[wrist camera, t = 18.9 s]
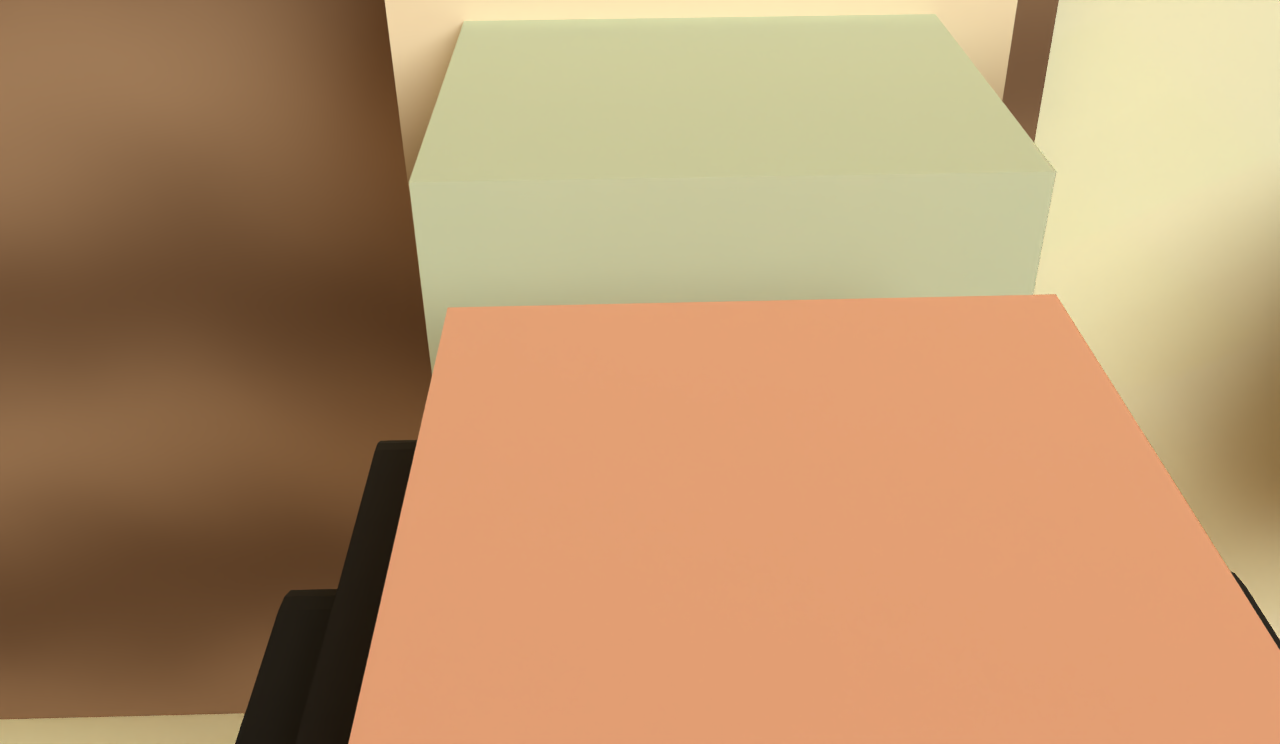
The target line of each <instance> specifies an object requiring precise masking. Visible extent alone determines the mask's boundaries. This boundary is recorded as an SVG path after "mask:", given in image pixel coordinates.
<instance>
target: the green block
mask: <svg viewBox="0 0 1280 744" xmlns="http://www.w3.org/2000/svg"><path fill="white" fill-rule="evenodd" d="M1055 176H1056V171H1055V169H1054V168H1053V167H1052V165H1051V164H1050V163H1049V161H1048V160H1047V159H1046V158H1045V156H1044V155H1043V154H1042V152H1041V151H1040V150H1039V148H1038V147H1037V146H1036V145H1035V143H1034V142H1033V141H1032V139H1031V138H1030V137H1029V135H1028V134H1027V133H1026V132H1025V130H1024V129H1023V128H1022V126H1021V125H1020V124H1019V122H1018V121H1017V120H1016V118H1015V117H1014V116H1013V115H1012V113H1011V112H1010V111H1009V109H1008V108H1007V107H1006V105H1005V104H1004V103H1003V102H1002V100H1001V99H1000V98H999V96H998V95H997V94H996V92H995V91H994V90H993V89H992V87H991V86H990V85H989V83H988V82H987V81H986V79H985V78H984V77H983V75H982V74H981V73H980V72H979V70H978V69H977V68H976V66H975V65H974V64H973V62H972V61H971V60H970V59H969V57H968V56H967V55H966V53H965V52H964V51H963V49H962V48H961V47H960V45H959V44H958V43H957V42H956V40H955V39H954V38H953V36H952V35H951V34H950V32H949V31H948V30H947V29H946V27H945V26H944V25H943V23H942V22H941V21H940V19H939V18H938V17H937V16H936V14H904V15H836V16H768V17H701V18H633V19H566V20H498V21H464V23H463V26H462V28H461V31H460V34H459V37H458V40H457V43H456V46H455V49H454V52H453V55H452V58H451V61H450V63H449V66H448V69H447V72H446V75H445V78H444V81H443V84H442V87H441V90H440V93H439V96H438V98H437V101H436V104H435V107H434V110H433V113H432V116H431V119H430V122H429V125H428V128H427V131H426V134H425V136H424V139H423V142H422V145H421V148H420V151H419V154H418V157H417V160H416V163H415V166H414V169H413V171H412V174H411V177H410V180H409V188H410V196H411V205H412V213H413V221H414V229H415V238H416V246H417V254H418V263H419V271H420V279H421V287H422V296H423V304H424V312H425V320H426V329H427V337H428V345H429V353H430V362H431V370H432V374H433V369H434V365H435V361H436V356H437V352H438V347H439V343H440V339H441V334H442V330H443V325H444V321H445V317H446V312H447V308H448V307H493V306H539V305H586V304H632V303H678V302H724V301H771V300H817V299H863V298H910V297H956V296H1002V295H1033V292H1034V287H1035V281H1036V276H1037V271H1038V265H1039V260H1040V255H1041V250H1042V244H1043V239H1044V234H1045V229H1046V223H1047V218H1048V213H1049V208H1050V202H1051V197H1052V192H1053V186H1054V181H1055Z"/></svg>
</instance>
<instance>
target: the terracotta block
mask: <svg viewBox="0 0 1280 744" xmlns="http://www.w3.org/2000/svg"><path fill="white" fill-rule="evenodd" d="M348 744H1280V650H1279V648H1278V646H1277V645H1276V643H1275V642H1274V640H1273V638H1272V637H1271V635H1270V634H1269V632H1268V631H1267V629H1266V627H1265V626H1264V624H1263V623H1262V621H1261V619H1260V618H1259V616H1258V615H1257V613H1256V611H1255V610H1254V608H1253V607H1252V605H1251V604H1250V602H1249V600H1248V599H1247V597H1246V596H1245V594H1244V592H1243V591H1242V589H1241V588H1240V586H1239V584H1238V583H1237V581H1236V580H1235V578H1234V577H1233V575H1232V573H1231V572H1230V570H1229V569H1228V567H1227V565H1226V564H1225V562H1224V561H1223V559H1222V557H1221V556H1220V554H1219V553H1218V551H1217V550H1216V548H1215V546H1214V545H1213V543H1212V542H1211V540H1210V538H1209V537H1208V535H1207V534H1206V532H1205V530H1204V529H1203V527H1202V526H1201V524H1200V523H1199V521H1198V519H1197V518H1196V516H1195V515H1194V513H1193V511H1192V510H1191V508H1190V507H1189V505H1188V503H1187V502H1186V500H1185V499H1184V497H1183V496H1182V494H1181V492H1180V491H1179V489H1178V488H1177V486H1176V484H1175V483H1174V481H1173V480H1172V478H1171V476H1170V475H1169V473H1168V472H1167V470H1166V469H1165V467H1164V465H1163V464H1162V462H1161V461H1160V459H1159V457H1158V456H1157V454H1156V453H1155V451H1154V449H1153V448H1152V446H1151V445H1150V443H1149V442H1148V440H1147V438H1146V437H1145V435H1144V434H1143V432H1142V430H1141V429H1140V427H1139V426H1138V424H1137V422H1136V421H1135V419H1134V418H1133V416H1132V415H1131V413H1130V411H1129V410H1128V408H1127V407H1126V405H1125V403H1124V402H1123V400H1122V399H1121V397H1120V395H1119V394H1118V392H1117V391H1116V389H1115V388H1114V386H1113V384H1112V383H1111V381H1110V380H1109V378H1108V376H1107V375H1106V373H1105V372H1104V370H1103V368H1102V367H1101V365H1100V364H1099V362H1098V361H1097V359H1096V357H1095V356H1094V354H1093V353H1092V351H1091V349H1090V348H1089V346H1088V345H1087V343H1086V341H1085V340H1084V338H1083V337H1082V335H1081V334H1080V332H1079V330H1078V329H1077V327H1076V326H1075V324H1074V322H1073V321H1072V319H1071V318H1070V316H1069V315H1068V313H1067V311H1066V310H1065V308H1064V307H1063V305H1062V303H1061V302H1060V300H1059V299H1058V297H1057V295H1056V294H1049V295H1002V296H956V297H910V298H863V299H817V300H771V301H724V302H678V303H632V304H586V305H539V306H493V307H448V308H447V312H446V317H445V321H444V325H443V330H442V334H441V339H440V343H439V347H438V352H437V356H436V361H435V365H434V369H433V374H432V378H431V383H430V387H429V391H428V396H427V400H426V405H425V409H424V413H423V418H422V422H421V427H420V431H419V435H418V440H417V444H416V449H415V453H414V457H413V462H412V466H411V471H410V475H409V479H408V484H407V488H406V493H405V497H404V501H403V506H402V510H401V515H400V519H399V523H398V528H397V532H396V537H395V541H394V545H393V550H392V554H391V559H390V563H389V567H388V572H387V576H386V581H385V585H384V589H383V594H382V598H381V603H380V607H379V611H378V616H377V620H376V625H375V629H374V633H373V638H372V642H371V647H370V651H369V655H368V660H367V664H366V669H365V673H364V677H363V682H362V686H361V691H360V695H359V699H358V704H357V708H356V713H355V717H354V721H353V726H352V730H351V734H350V739H349V743H348Z"/></svg>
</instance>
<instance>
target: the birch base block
mask: <svg viewBox="0 0 1280 744" xmlns="http://www.w3.org/2000/svg"><path fill="white" fill-rule="evenodd" d="M1017 2H1018V0H385V7H386V15H387V23H388V31H389V38H390V46H391V54H392V62H393V70H394V78H395V86H396V94H397V102H398V110H399V117H400V125H401V133H402V141H403V149H404V157H405V165H406V173H407V181H408V189H409V196H410V188H409V180H410V177H411V174H412V171H413V169H414V166H415V163H416V160H417V157H418V154H419V151H420V148H421V145H422V142H423V139H424V136H425V134H426V131H427V128H428V125H429V122H430V119H431V116H432V113H433V110H434V107H435V104H436V101H437V98H438V96H439V93H440V90H441V87H442V84H443V81H444V78H445V75H446V72H447V69H448V66H449V63H450V61H451V58H452V55H453V52H454V49H455V46H456V43H457V40H458V37H459V34H460V31H461V28H462V26H463V23H464V21H498V20H566V19H633V18H701V17H768V16H836V15H904V14H936V16H937V17H938V18H939V19H940V21H941V22H942V23H943V25H944V26H945V27H946V29H947V30H948V31H949V32H950V34H951V35H952V36H953V38H954V39H955V40H956V42H957V43H958V44H959V45H960V47H961V48H962V49H963V51H964V52H965V53H966V55H967V56H968V57H969V59H970V60H971V61H972V62H973V64H974V65H975V66H976V68H977V69H978V70H979V72H980V73H981V74H982V75H983V77H984V78H985V79H986V81H987V82H988V83H989V85H990V86H991V87H992V89H993V90H994V91H995V92H996V94H997V95H998V96H999V98H1000V99H1001V100H1003V93H1004V87H1005V80H1006V74H1007V67H1008V61H1009V54H1010V48H1011V41H1012V35H1013V28H1014V22H1015V15H1016V9H1017ZM410 204H411V196H410ZM411 212H412V205H411ZM412 220H413V213H412ZM413 228H414V221H413ZM414 236H415V229H414ZM415 244H416V238H415ZM416 252H417V246H416ZM417 260H418V254H417ZM418 268H419V263H418ZM419 276H420V271H419ZM420 283H421V279H420ZM421 291H422V287H421ZM422 299H423V296H422ZM423 307H424V304H423ZM424 315H425V312H424ZM425 323H426V320H425ZM426 331H427V329H426ZM427 339H428V337H427ZM428 347H429V345H428ZM429 355H430V353H429Z"/></svg>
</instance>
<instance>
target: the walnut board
mask: <svg viewBox="0 0 1280 744" xmlns="http://www.w3.org/2000/svg"><path fill="white" fill-rule="evenodd" d="M1058 1H1059V0H1018V2H1017V9H1016V15H1015V22H1014V28H1013V35H1012V41H1011V48H1010V54H1009V61H1008V67H1007V74H1006V80H1005V87H1004V93H1003V100H1002V102H1003V103H1004V104H1005V105H1006V107H1007V108H1008V109H1009V111H1010V112H1011V113H1012V115H1013V116H1014V117H1015V118H1016V120H1017V121H1018V122H1019V124H1020V125H1021V126H1022V128H1023V129H1024V130H1025V132H1026V133H1027V134H1028V135H1029V137H1030V138H1031V139H1032V141H1033V142H1034V140H1035V134H1036V129H1037V123H1038V117H1039V111H1040V105H1041V100H1042V94H1043V88H1044V82H1045V76H1046V70H1047V65H1048V59H1049V53H1050V47H1051V41H1052V36H1053V30H1054V24H1055V18H1056V12H1057V6H1058ZM431 378H432V370H431V362H430V355H429V347H428V339H427V331H426V323H425V315H424V307H423V299H422V291H421V283H420V276H419V268H418V260H417V252H416V244H415V236H414V228H413V220H412V212H411V204H410V196H409V189H408V181H407V173H406V165H405V157H404V149H403V141H402V133H401V125H400V117H399V110H398V102H397V94H396V86H395V78H394V70H393V62H392V54H391V46H390V38H389V31H388V23H387V15H386V7H385V0H0V719H28V718H68V717H108V716H149V715H189V714H229V713H245V712H246V709H247V706H248V703H249V700H250V696H251V693H252V690H253V687H254V684H255V681H256V678H257V675H258V672H259V669H260V666H261V662H262V659H263V656H264V653H265V650H266V647H267V644H268V641H269V638H270V635H271V631H272V628H273V625H274V622H275V619H276V616H277V613H278V610H279V608H280V605H281V603H282V601H283V598H284V596H285V595H286V594H287V593H288V592H289V591H290V590H311V589H337V588H338V584H339V581H340V577H341V573H342V570H343V566H344V562H345V559H346V555H347V551H348V547H349V544H350V540H351V536H352V533H353V529H354V525H355V522H356V518H357V514H358V511H359V507H360V503H361V500H362V496H363V492H364V488H365V485H366V481H367V477H368V474H369V470H370V466H371V463H372V459H373V455H374V452H375V449H376V446H377V443H378V442H380V441H388V440H418V435H419V431H420V427H421V422H422V418H423V413H424V409H425V405H426V400H427V396H428V391H429V387H430V383H431Z"/></svg>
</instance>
